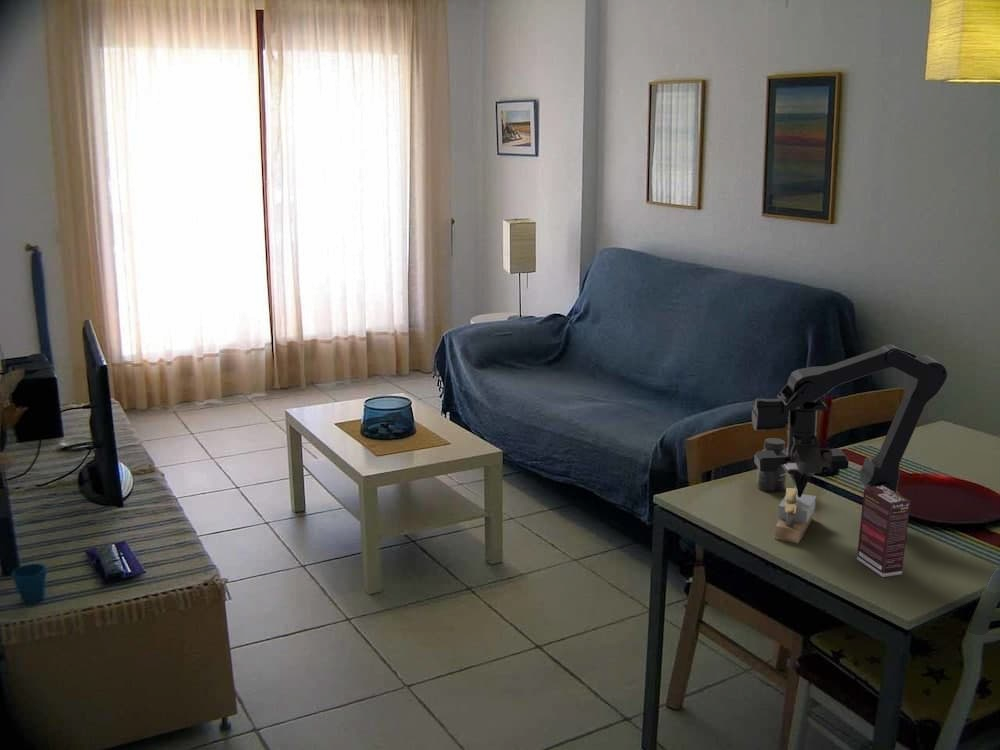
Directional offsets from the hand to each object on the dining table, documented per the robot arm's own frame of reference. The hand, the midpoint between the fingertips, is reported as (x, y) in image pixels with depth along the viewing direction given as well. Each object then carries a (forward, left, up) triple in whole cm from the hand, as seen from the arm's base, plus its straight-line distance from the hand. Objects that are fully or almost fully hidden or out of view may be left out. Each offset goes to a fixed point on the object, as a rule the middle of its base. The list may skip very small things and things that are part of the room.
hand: (799, 496), depth 209 cm
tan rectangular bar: (+1, +3, -1) cm, 3 cm away
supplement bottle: (+10, -20, -8) cm, 24 cm away
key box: (0, +1, -7) cm, 7 cm away
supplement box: (-19, +11, -8) cm, 23 cm away
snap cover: (0, -1, -4) cm, 4 cm away
